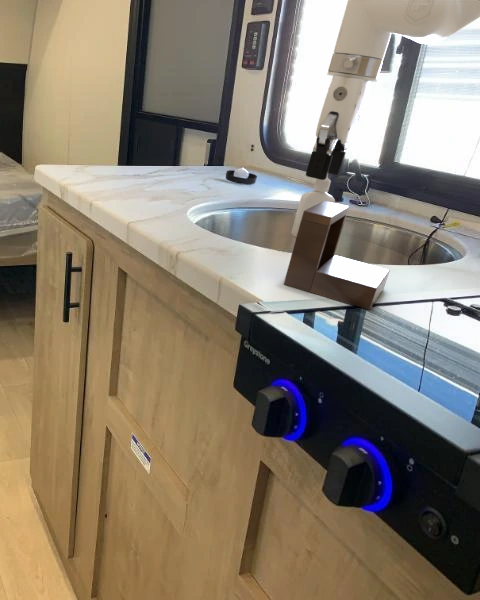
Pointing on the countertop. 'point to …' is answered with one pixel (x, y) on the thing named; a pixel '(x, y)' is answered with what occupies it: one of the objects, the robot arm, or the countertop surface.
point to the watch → (241, 176)
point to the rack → (331, 260)
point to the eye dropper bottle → (312, 201)
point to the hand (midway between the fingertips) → (322, 175)
